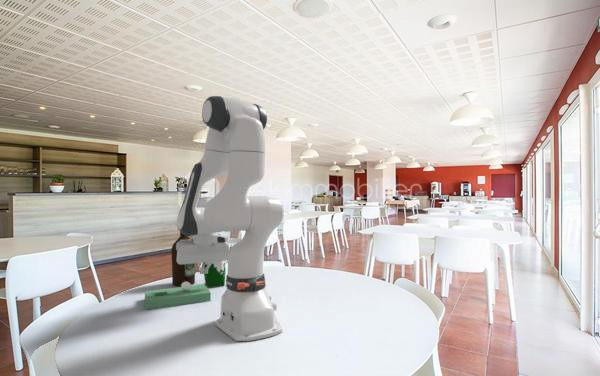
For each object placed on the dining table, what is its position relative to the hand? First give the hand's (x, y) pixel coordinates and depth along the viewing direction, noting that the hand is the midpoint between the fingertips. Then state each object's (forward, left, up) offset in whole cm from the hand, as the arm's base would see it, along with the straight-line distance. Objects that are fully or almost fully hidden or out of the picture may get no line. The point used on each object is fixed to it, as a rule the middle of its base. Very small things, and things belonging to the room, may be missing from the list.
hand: (203, 273), depth 127 cm
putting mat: (-1, +10, -9) cm, 13 cm away
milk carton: (+14, -7, -9) cm, 18 cm away
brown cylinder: (+22, +5, -9) cm, 24 cm away
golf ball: (-1, +7, -4) cm, 8 cm away
